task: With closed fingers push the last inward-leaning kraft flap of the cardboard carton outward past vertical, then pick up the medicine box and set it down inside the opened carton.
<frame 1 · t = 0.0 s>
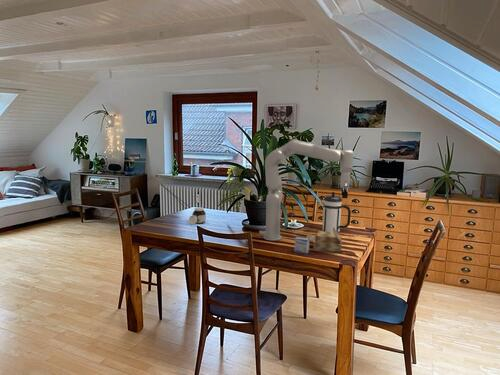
hand: (344, 196, 225), 31 cm above the table, fingers open, 9 cm apart
medicine box: (301, 252, 213), on the table
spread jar: (197, 223, 271), on the table
flap: (337, 235, 220), point 9 cm above the table, hinge at -40.0°
carton: (326, 247, 222), on the table
coffee press: (332, 233, 253), on the table
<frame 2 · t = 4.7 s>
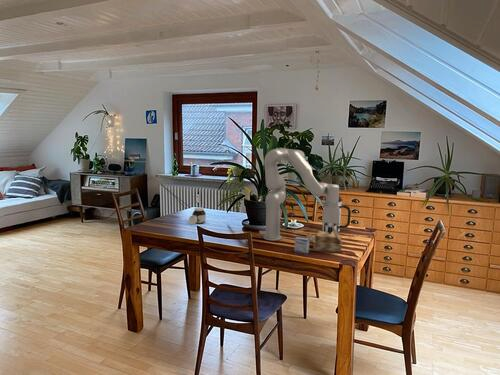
hand: (329, 233, 220), 9 cm above the table, fingers closed
flap: (337, 235, 220), point 9 cm above the table, hinge at -39.7°, touching gripper
everything else where it was.
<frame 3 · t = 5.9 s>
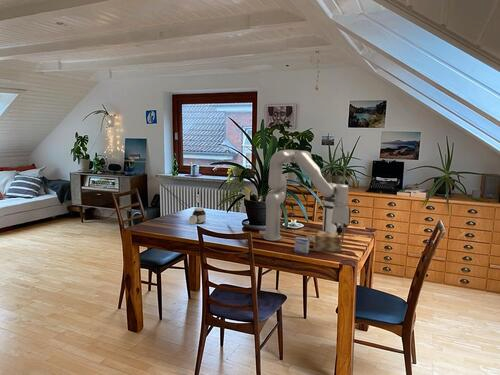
hand: (339, 233, 219), 10 cm above the table, fingers closed
flap: (342, 233, 219), point 10 cm above the table, hinge at 5.1°, touching gripper
everything else where it was.
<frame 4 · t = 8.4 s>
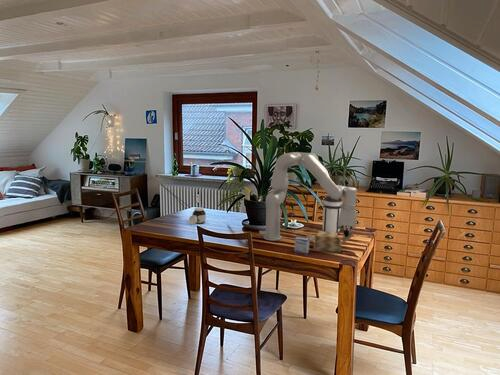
hand: (345, 236, 219), 8 cm above the table, fingers closed
flap: (347, 236, 218), point 8 cm above the table, hinge at 44.3°, touching gripper
everything else where it was.
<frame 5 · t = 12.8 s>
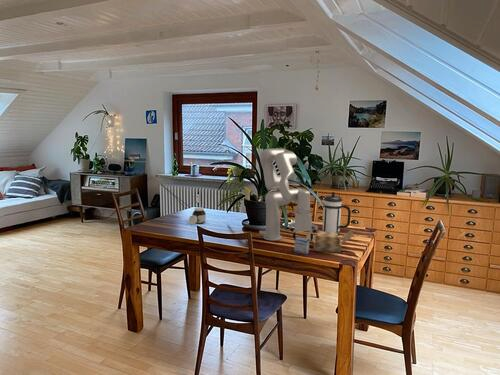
hand: (302, 239, 210), 8 cm above the table, fingers open, 9 cm apart
medicine box: (301, 252, 213), on the table, touching gripper
flap: (347, 236, 218), point 8 cm above the table, hinge at 44.5°
everything else where it was.
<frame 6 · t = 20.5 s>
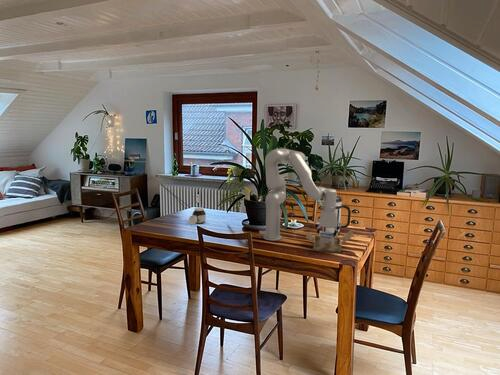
hand: (326, 235, 221), 8 cm above the table, fingers open, 9 cm apart
medicine box: (326, 246, 223), point 1 cm above the table, touching carton, gripper
everything else where it was.
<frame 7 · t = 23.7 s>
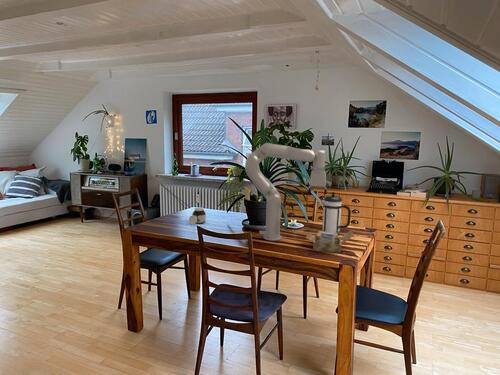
hand: (317, 194, 234), 30 cm above the table, fingers open, 9 cm apart
medicine box: (326, 246, 223), resting on carton
everything else where it was.
at the end: flap at +44° (first picture: -40°); medicine box inside the target area on the carton (0.7 cm from its centre), point 0.4 cm above the carton's base; the gripper is holding nothing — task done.
